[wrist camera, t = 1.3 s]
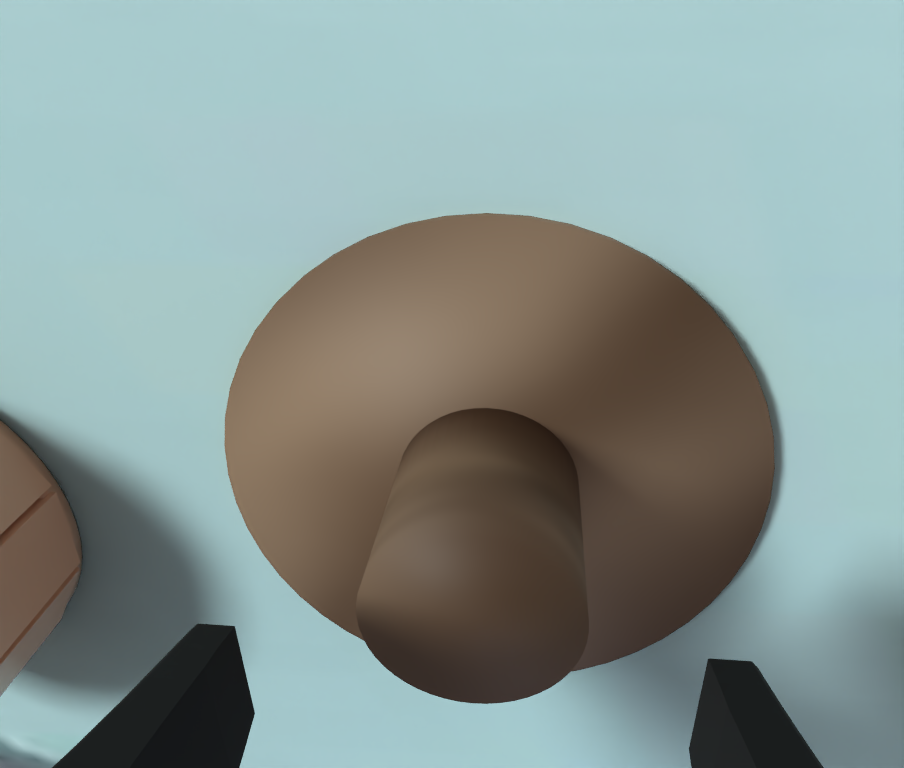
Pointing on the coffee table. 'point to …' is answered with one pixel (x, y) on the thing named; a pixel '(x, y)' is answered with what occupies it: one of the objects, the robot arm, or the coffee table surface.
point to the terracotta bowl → (32, 554)
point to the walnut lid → (498, 450)
